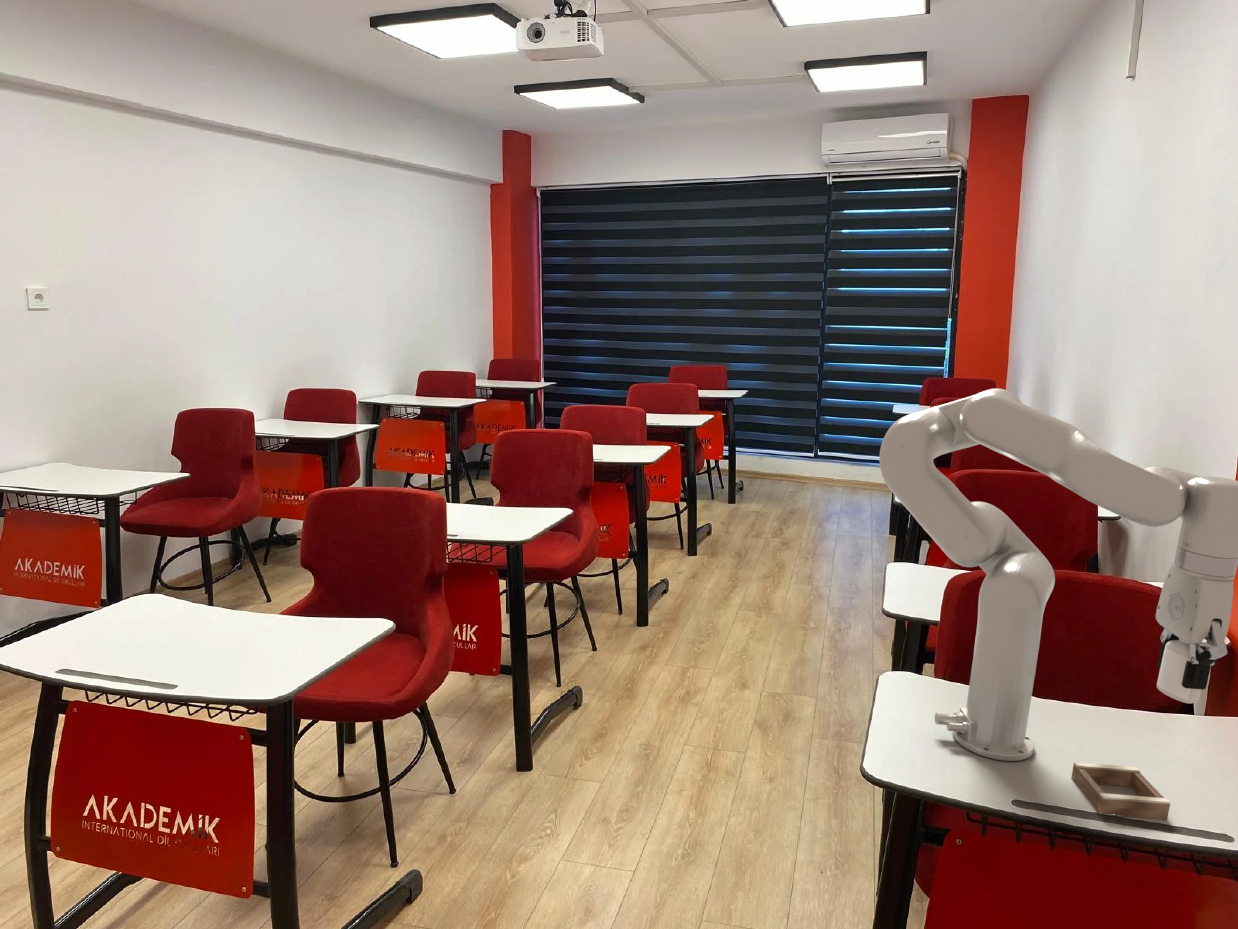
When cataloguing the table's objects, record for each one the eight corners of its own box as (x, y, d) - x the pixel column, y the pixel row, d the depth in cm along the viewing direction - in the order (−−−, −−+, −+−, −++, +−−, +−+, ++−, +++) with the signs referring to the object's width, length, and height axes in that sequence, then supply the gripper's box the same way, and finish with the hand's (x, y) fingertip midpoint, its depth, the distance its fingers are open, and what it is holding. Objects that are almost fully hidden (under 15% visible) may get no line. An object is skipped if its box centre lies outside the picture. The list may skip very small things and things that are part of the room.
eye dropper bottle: (1170, 702, 128) (1186, 626, 125) (1152, 685, 133) (1168, 612, 131) (1202, 706, 127) (1219, 629, 125) (1183, 689, 133) (1199, 615, 130)
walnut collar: (1100, 814, 127) (1103, 797, 126) (1071, 778, 136) (1073, 762, 136) (1167, 819, 126) (1170, 802, 126) (1133, 783, 136) (1136, 767, 135)
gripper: (1146, 543, 134) (1124, 652, 138) (1215, 580, 117) (1188, 703, 121) (1196, 546, 134) (1173, 656, 138) (1272, 585, 117) (1243, 708, 121)
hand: (1180, 677), depth 129 cm, fingers closed on eye dropper bottle, 5 cm apart
